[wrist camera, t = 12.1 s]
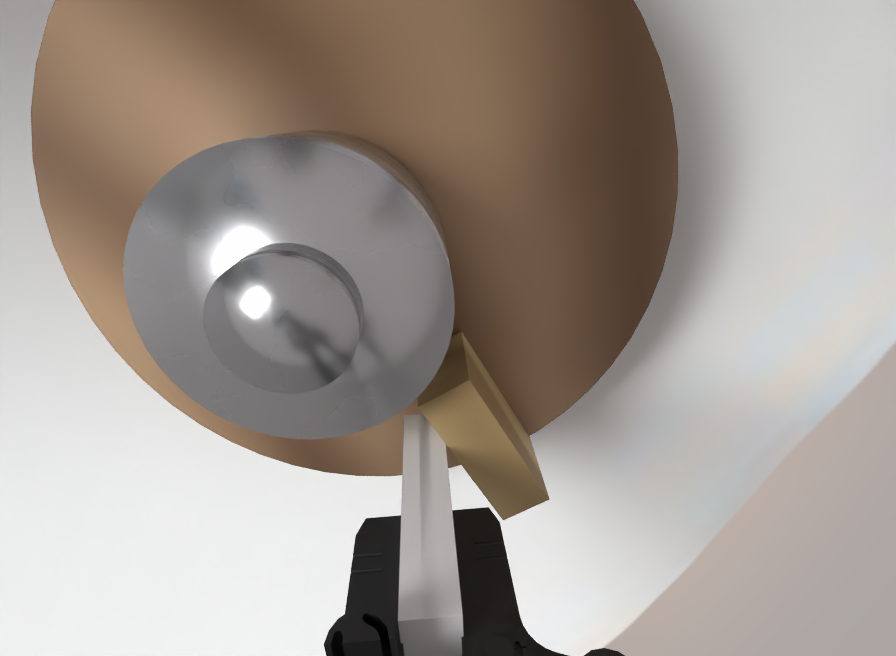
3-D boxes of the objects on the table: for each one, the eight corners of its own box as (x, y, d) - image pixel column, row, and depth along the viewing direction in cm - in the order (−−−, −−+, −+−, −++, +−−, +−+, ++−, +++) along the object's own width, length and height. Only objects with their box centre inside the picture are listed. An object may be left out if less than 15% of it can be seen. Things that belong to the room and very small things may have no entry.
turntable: (322, 504, 20) (292, 615, 16) (-56, 118, 13) (-298, 121, 9) (716, 307, 17) (819, 376, 13) (485, -337, 10) (532, -692, 6)
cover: (303, 394, 16) (254, 509, 11) (152, 213, 13) (4, 266, 8) (487, 298, 14) (515, 383, 10) (363, 76, 12) (324, 52, 7)
